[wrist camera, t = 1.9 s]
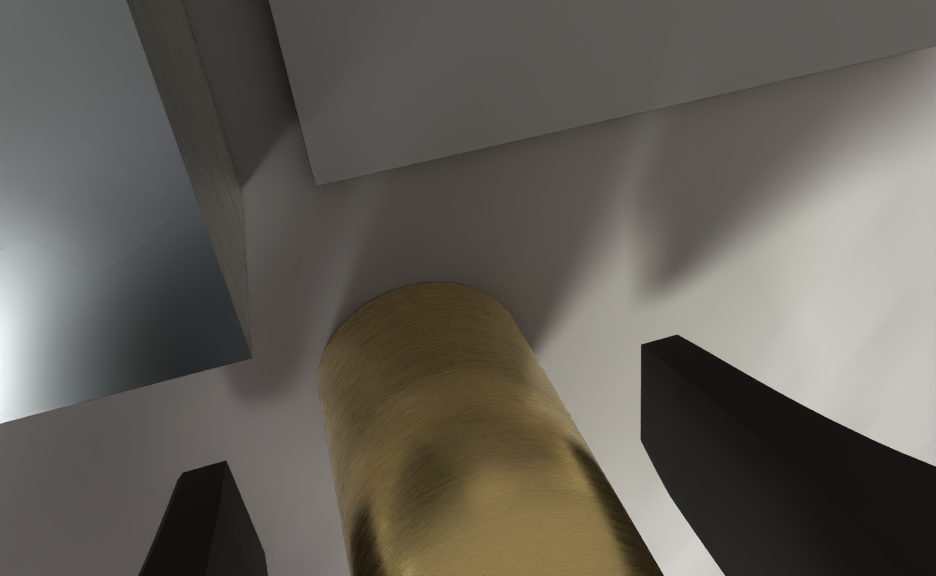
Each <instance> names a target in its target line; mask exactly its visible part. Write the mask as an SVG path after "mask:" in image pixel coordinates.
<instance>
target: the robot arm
mask: <svg viewBox="0 0 936 576" xmlns="http://www.w3.org/2000/svg"><path fill="white" fill-rule="evenodd" d="M641 442H642V444H643V446H644V448H645V450H646V451H647V453H648V455H649V457H650V459H651V461H652V463H653V465H654V467H655V469H656V471H657V473H658V475H659V477H660V479H661V480H662V482H663V484H664V486H665V488H666V490H667V491H668V493H669V495H670V497H671V498H672V500H673V501H674V503H675V504H676V506H677V507H678V509H679V510H680V511H681V513H682V514H683V516H684V517H685V519H686V520H687V522H688V523H689V524H690V526H691V527H692V529H693V530H694V532H695V533H696V535H697V536H698V538H699V539H700V540H701V542H702V543H703V545H704V546H705V548H706V549H707V550H708V552H709V553H710V555H711V556H712V557H713V559H714V560H715V562H716V563H717V565H718V566H719V567H720V569H721V570H722V572H723V573H724V575H725V576H936V467H935V466H933V465H930V464H928V463H926V462H923V461H921V460H918V459H916V458H913V457H911V456H908V455H906V454H903V453H901V452H899V451H896V450H894V449H892V448H890V447H887V446H885V445H883V444H881V443H878V442H876V441H874V440H872V439H870V438H868V437H866V436H863V435H861V434H859V433H857V432H855V431H853V430H851V429H849V428H847V427H845V426H843V425H841V424H839V423H837V422H834V421H832V420H830V419H828V418H826V417H824V416H823V415H821V414H819V413H817V412H815V411H813V410H811V409H809V408H807V407H805V406H803V405H801V404H799V403H798V402H796V401H794V400H792V399H790V398H788V397H786V396H785V395H783V394H781V393H779V392H777V391H776V390H774V389H772V388H770V387H768V386H767V385H765V384H763V383H761V382H759V381H758V380H756V379H754V378H752V377H751V376H749V375H747V374H745V373H744V372H742V371H740V370H738V369H737V368H735V367H733V366H731V365H730V364H728V363H726V362H725V361H723V360H721V359H719V358H718V357H716V356H714V355H713V354H711V353H709V352H707V351H706V350H704V349H702V348H700V347H699V346H697V345H695V344H693V343H692V342H690V341H688V340H686V339H684V338H683V337H681V336H679V335H674V336H670V337H667V338H663V339H660V340H656V341H653V342H649V343H645V344H642V345H641ZM138 576H268V573H267V566H266V558H265V552H264V550H263V548H262V545H261V543H260V540H259V538H258V536H257V533H256V531H255V528H254V526H253V524H252V521H251V519H250V516H249V514H248V512H247V509H246V507H245V504H244V502H243V500H242V497H241V495H240V492H239V490H238V488H237V485H236V483H235V480H234V478H233V476H232V473H231V471H230V468H229V466H228V464H227V461H223V462H219V463H216V464H212V465H209V466H205V467H202V468H198V469H194V470H191V471H187V472H184V473H182V475H181V476H180V477H179V479H178V480H177V483H176V485H175V488H174V491H173V493H172V496H171V499H170V501H169V504H168V506H167V509H166V511H165V514H164V516H163V519H162V521H161V524H160V526H159V529H158V531H157V534H156V536H155V538H154V541H153V543H152V546H151V548H150V550H149V553H148V555H147V557H146V560H145V562H144V564H143V566H142V568H141V571H140V573H139V575H138Z"/></svg>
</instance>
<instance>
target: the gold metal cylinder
mask: <svg viewBox="0 0 936 576" xmlns="http://www.w3.org/2000/svg"><path fill="white" fill-rule="evenodd" d="M318 391H319V397H320V403H321V408H322V414H323V420H324V426H325V431H326V437H327V443H328V449H329V454H330V460H331V466H332V472H333V477H334V483H335V489H336V495H337V500H338V506H339V512H340V518H341V523H342V529H343V535H344V541H345V546H346V552H347V558H348V563H349V569H350V575H351V576H664V575H663V573H662V572H661V570H660V568H659V566H658V565H657V563H656V561H655V560H654V558H653V556H652V555H651V553H650V551H649V549H648V548H647V546H646V544H645V543H644V541H643V539H642V537H641V536H640V534H639V532H638V531H637V529H636V527H635V526H634V524H633V522H632V520H631V519H630V517H629V515H628V514H627V512H626V510H625V508H624V507H623V505H622V503H621V502H620V500H619V498H618V497H617V495H616V493H615V491H614V490H613V488H612V486H611V485H610V483H609V481H608V479H607V478H606V476H605V474H604V473H603V471H602V469H601V468H600V466H599V464H598V462H597V461H596V459H595V457H594V456H593V454H592V452H591V450H590V449H589V447H588V445H587V444H586V442H585V440H584V439H583V437H582V435H581V433H580V432H579V430H578V428H577V427H576V425H575V423H574V421H573V420H572V418H571V416H570V415H569V413H568V411H567V410H566V408H565V406H564V404H563V403H562V401H561V399H560V398H559V396H558V394H557V392H556V391H555V389H554V387H553V386H552V384H551V382H550V381H549V379H548V377H547V375H546V374H545V372H544V370H543V369H542V367H541V365H540V363H539V362H538V360H537V358H536V357H535V355H534V353H533V352H532V350H531V348H530V346H529V345H528V343H527V341H526V340H525V338H524V336H523V334H522V333H521V331H520V329H519V328H518V326H517V324H516V323H515V321H514V319H513V317H512V316H511V315H510V313H509V312H508V311H507V310H506V308H505V307H504V306H503V305H501V304H500V303H499V302H498V301H497V300H496V299H494V298H493V297H491V296H490V295H488V294H486V293H484V292H482V291H480V290H478V289H476V288H472V287H469V286H466V285H462V284H456V283H450V282H427V283H418V284H413V285H408V286H404V287H401V288H398V289H395V290H392V291H389V292H387V293H385V294H383V295H380V296H378V297H376V298H375V299H373V300H371V301H369V302H368V303H366V304H365V305H363V306H362V307H361V308H359V309H358V310H357V311H355V312H354V313H353V314H352V315H351V316H350V317H349V318H347V319H346V320H345V321H344V322H343V324H342V325H341V326H340V327H339V328H338V330H337V331H336V332H335V333H334V335H333V336H332V338H331V340H330V341H329V343H328V345H327V347H326V349H325V351H324V353H323V356H322V359H321V363H320V366H319V373H318Z"/></svg>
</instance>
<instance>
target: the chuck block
mask: <svg viewBox="0 0 936 576" xmlns="http://www.w3.org/2000/svg"><path fill="white" fill-rule="evenodd" d="M251 358H252V343H251V327H250V312H249V296H248V281H247V265H246V249H245V234H244V218H243V203H242V190H241V187H240V184H239V181H238V177H237V174H236V171H235V168H234V165H233V161H232V158H231V155H230V152H229V149H228V146H227V142H226V139H225V136H224V133H223V130H222V126H221V123H220V120H219V117H218V114H217V110H216V107H215V104H214V101H213V98H212V95H211V91H210V88H209V85H208V82H207V79H206V75H205V72H204V69H203V66H202V63H201V60H200V56H199V53H198V50H197V47H196V44H195V40H194V37H193V34H192V31H191V28H190V25H189V21H188V18H187V15H186V12H185V9H184V5H183V2H182V0H0V424H1V423H4V422H8V421H12V420H16V419H20V418H24V417H28V416H31V415H35V414H39V413H43V412H47V411H51V410H55V409H58V408H62V407H66V406H70V405H74V404H78V403H82V402H85V401H89V400H93V399H97V398H101V397H105V396H109V395H112V394H116V393H120V392H124V391H128V390H132V389H136V388H139V387H143V386H147V385H151V384H155V383H159V382H163V381H166V380H170V379H174V378H178V377H182V376H186V375H189V374H193V373H197V372H201V371H205V370H209V369H213V368H216V367H220V366H224V365H228V364H232V363H236V362H240V361H243V360H247V359H251Z"/></svg>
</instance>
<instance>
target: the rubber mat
mask: <svg viewBox="0 0 936 576" xmlns="http://www.w3.org/2000/svg"><path fill="white" fill-rule="evenodd" d="M269 4H270V8H271V12H272V16H273V20H274V24H275V28H276V32H277V36H278V40H279V43H280V47H281V51H282V55H283V59H284V63H285V67H286V71H287V75H288V79H289V83H290V87H291V91H292V95H293V99H294V103H295V106H296V110H297V114H298V118H299V122H300V126H301V130H302V134H303V138H304V142H305V146H306V150H307V154H308V158H309V162H310V166H311V170H312V173H313V177H314V181H315V185H316V186H319V185H324V184H328V183H332V182H337V181H341V180H346V179H350V178H354V177H359V176H363V175H368V174H372V173H377V172H381V171H385V170H390V169H394V168H399V167H403V166H407V165H412V164H416V163H421V162H425V161H430V160H434V159H438V158H443V157H447V156H452V155H456V154H460V153H465V152H469V151H474V150H478V149H483V148H487V147H491V146H496V145H500V144H505V143H509V142H513V141H518V140H522V139H527V138H531V137H536V136H540V135H544V134H549V133H553V132H558V131H562V130H567V129H571V128H575V127H580V126H584V125H589V124H593V123H597V122H602V121H606V120H611V119H615V118H620V117H624V116H628V115H633V114H637V113H642V112H646V111H650V110H655V109H659V108H664V107H668V106H673V105H677V104H681V103H686V102H690V101H695V100H699V99H703V98H708V97H712V96H717V95H721V94H726V93H730V92H734V91H739V90H743V89H748V88H752V87H757V86H761V85H765V84H770V83H774V82H779V81H783V80H787V79H792V78H796V77H801V76H805V75H810V74H814V73H818V72H823V71H827V70H832V69H836V68H840V67H845V66H849V65H854V64H858V63H863V62H867V61H871V60H876V59H880V58H885V57H889V56H893V55H898V54H902V53H907V52H911V51H916V50H920V49H924V48H929V47H933V46H936V0H269Z"/></svg>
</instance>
